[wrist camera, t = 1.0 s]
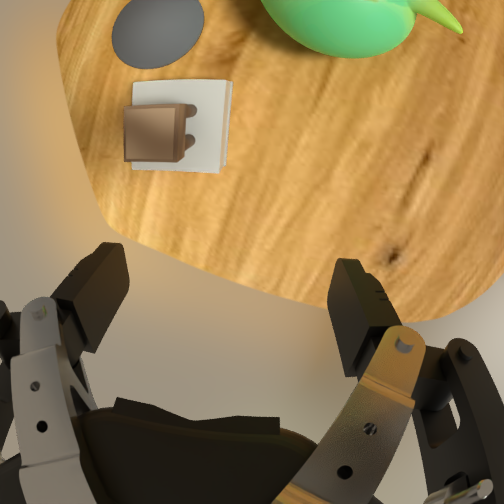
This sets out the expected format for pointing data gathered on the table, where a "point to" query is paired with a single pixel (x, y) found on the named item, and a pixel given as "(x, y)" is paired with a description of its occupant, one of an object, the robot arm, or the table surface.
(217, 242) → the table surface
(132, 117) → the walnut stool
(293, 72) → the table surface
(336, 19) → the toy bird
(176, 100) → the white square box
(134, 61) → the charcoal felt mat
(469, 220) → the table surface
